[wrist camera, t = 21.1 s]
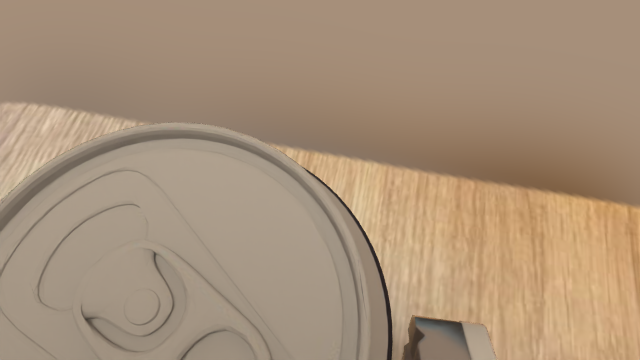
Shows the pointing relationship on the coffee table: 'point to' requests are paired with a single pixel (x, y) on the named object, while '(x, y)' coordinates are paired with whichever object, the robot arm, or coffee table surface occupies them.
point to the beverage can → (185, 255)
